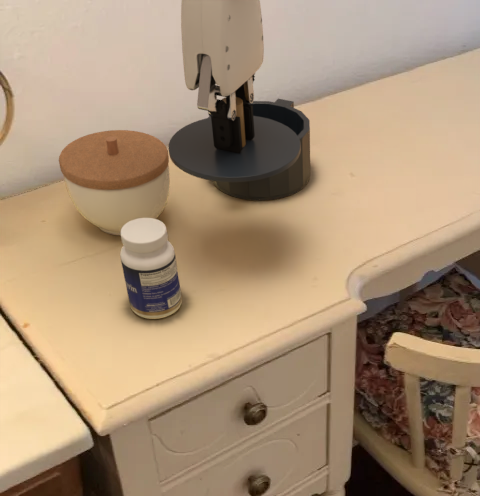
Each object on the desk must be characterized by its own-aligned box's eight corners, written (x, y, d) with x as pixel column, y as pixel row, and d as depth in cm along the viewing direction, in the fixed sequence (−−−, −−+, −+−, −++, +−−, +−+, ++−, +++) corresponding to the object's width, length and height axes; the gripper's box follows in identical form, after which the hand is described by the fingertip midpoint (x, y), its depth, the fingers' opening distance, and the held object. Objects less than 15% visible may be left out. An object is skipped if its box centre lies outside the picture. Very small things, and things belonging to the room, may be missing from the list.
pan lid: (145, 171, 90) (136, 117, 86) (206, 115, 100) (200, 64, 96) (269, 198, 88) (266, 143, 83) (319, 137, 98) (319, 86, 93)
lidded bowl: (185, 197, 110) (175, 117, 103) (165, 251, 101) (152, 168, 94) (90, 191, 110) (73, 111, 102) (60, 244, 101) (39, 161, 93)
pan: (184, 198, 110) (177, 145, 105) (244, 135, 123) (241, 86, 118) (279, 219, 108) (277, 166, 102) (330, 153, 121) (331, 103, 116)
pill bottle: (125, 295, 95) (110, 219, 88) (176, 285, 96) (164, 210, 90) (136, 325, 91) (120, 249, 84) (188, 314, 93) (177, 238, 86)
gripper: (221, -62, 87) (234, 107, 99) (143, -14, 75) (169, 170, 88) (288, -52, 85) (293, 119, 98) (218, -1, 74) (234, 184, 87)
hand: (234, 142), depth 93 cm, fingers closed on pan lid, 2 cm apart
